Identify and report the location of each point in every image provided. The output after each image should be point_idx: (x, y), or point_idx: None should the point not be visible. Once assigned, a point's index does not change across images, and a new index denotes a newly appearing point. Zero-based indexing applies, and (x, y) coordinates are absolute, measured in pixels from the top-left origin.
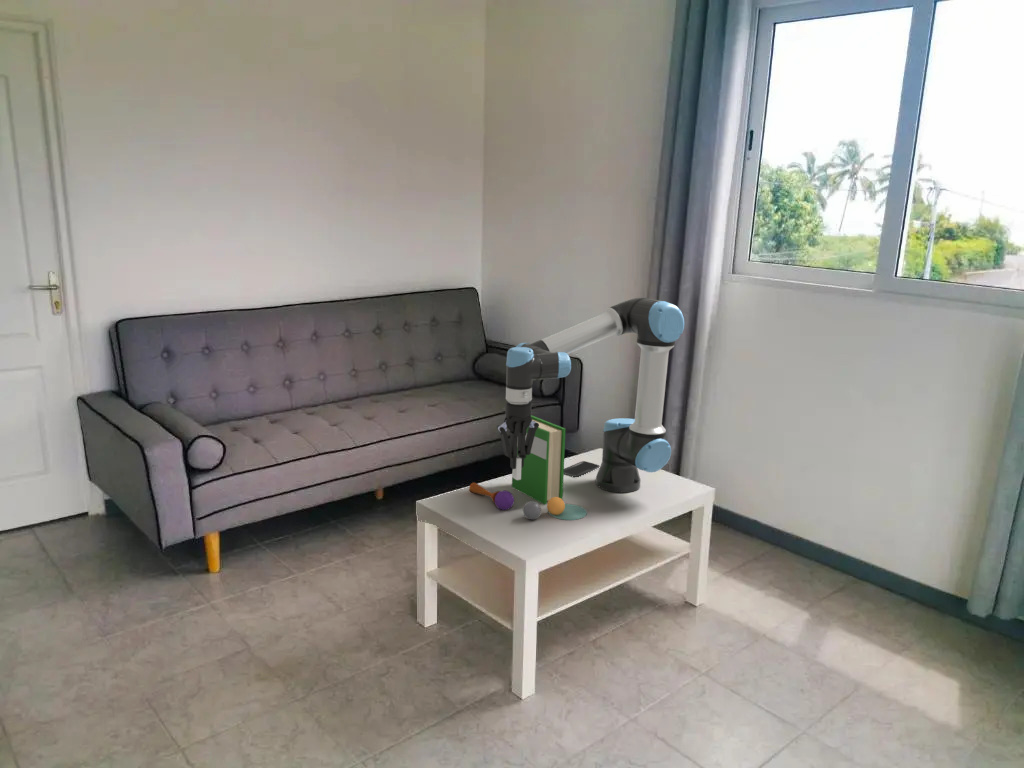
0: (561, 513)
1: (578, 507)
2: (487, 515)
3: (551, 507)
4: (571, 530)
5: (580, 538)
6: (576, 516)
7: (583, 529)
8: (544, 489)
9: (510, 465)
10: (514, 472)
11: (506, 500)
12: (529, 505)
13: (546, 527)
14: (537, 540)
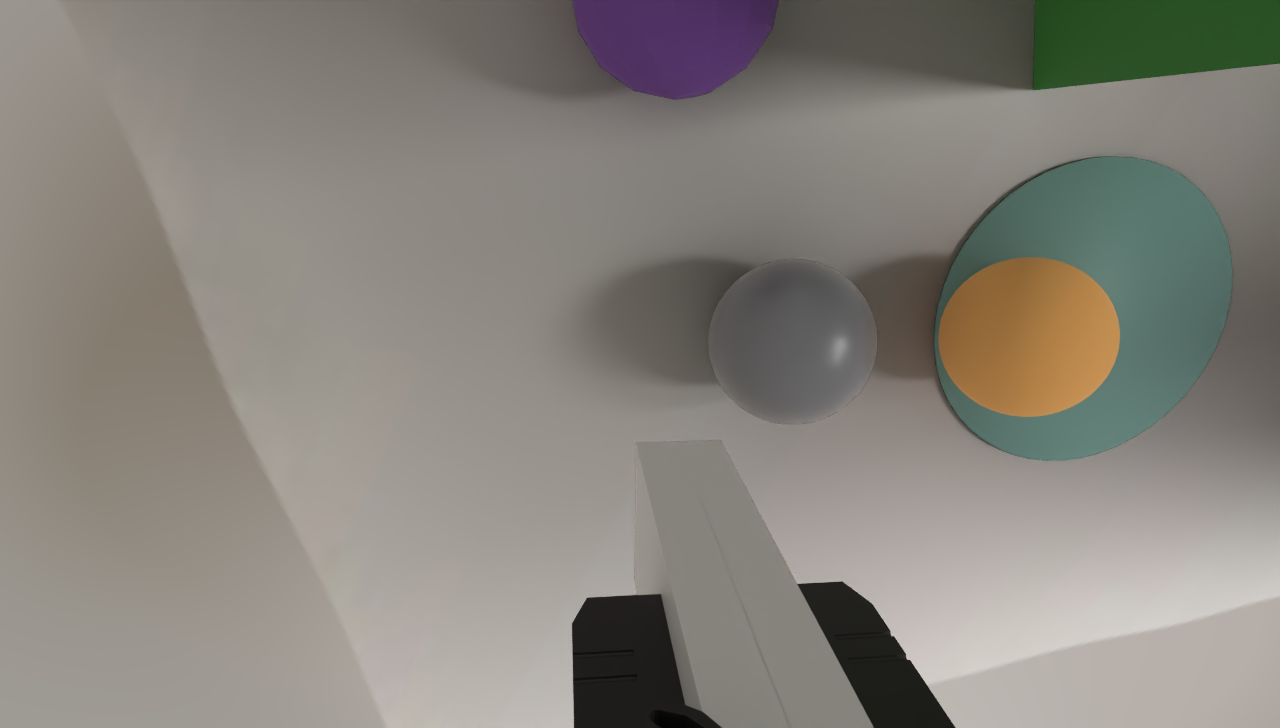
0: None
1: (1208, 283)
2: (442, 95)
3: (961, 377)
4: (903, 590)
5: None
6: (1077, 425)
7: (979, 602)
8: (1143, 65)
9: (573, 648)
10: (646, 573)
11: (656, 85)
12: (763, 389)
13: (781, 495)
14: None
